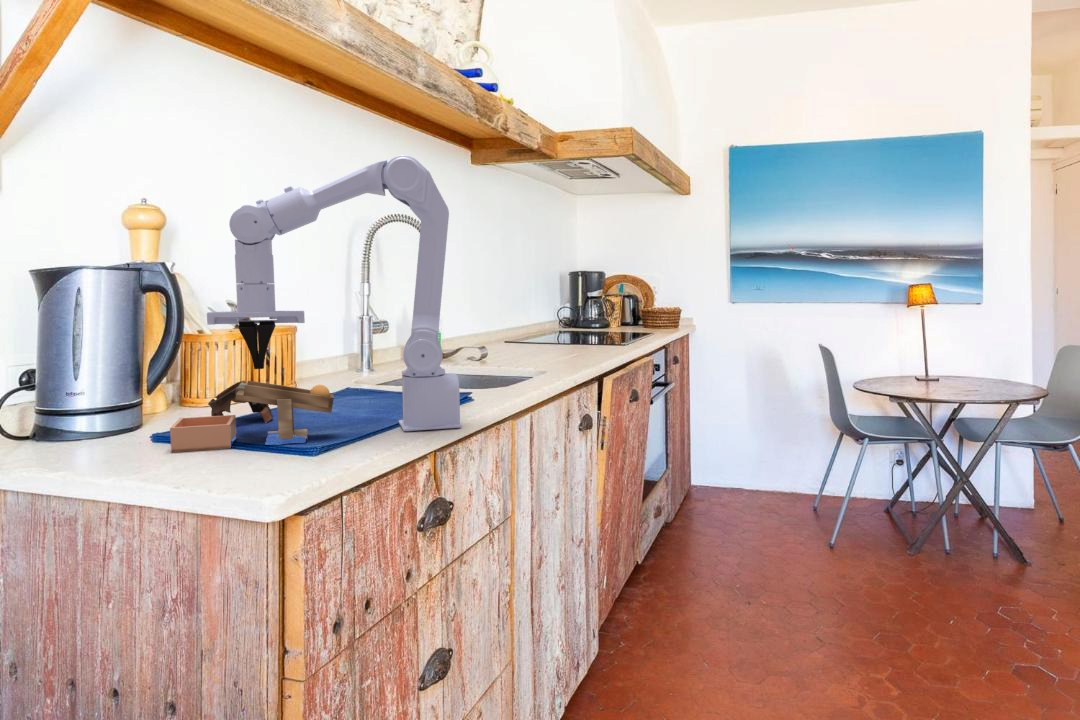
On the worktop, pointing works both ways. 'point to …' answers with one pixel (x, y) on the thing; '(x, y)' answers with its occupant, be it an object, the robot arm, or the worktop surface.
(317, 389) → the ball
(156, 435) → the worktop surface
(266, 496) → the worktop surface
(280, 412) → the fulcrum stand
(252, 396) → the catapult lever
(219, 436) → the open cardboard tray
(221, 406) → the dark brown bent piece
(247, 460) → the worktop surface
